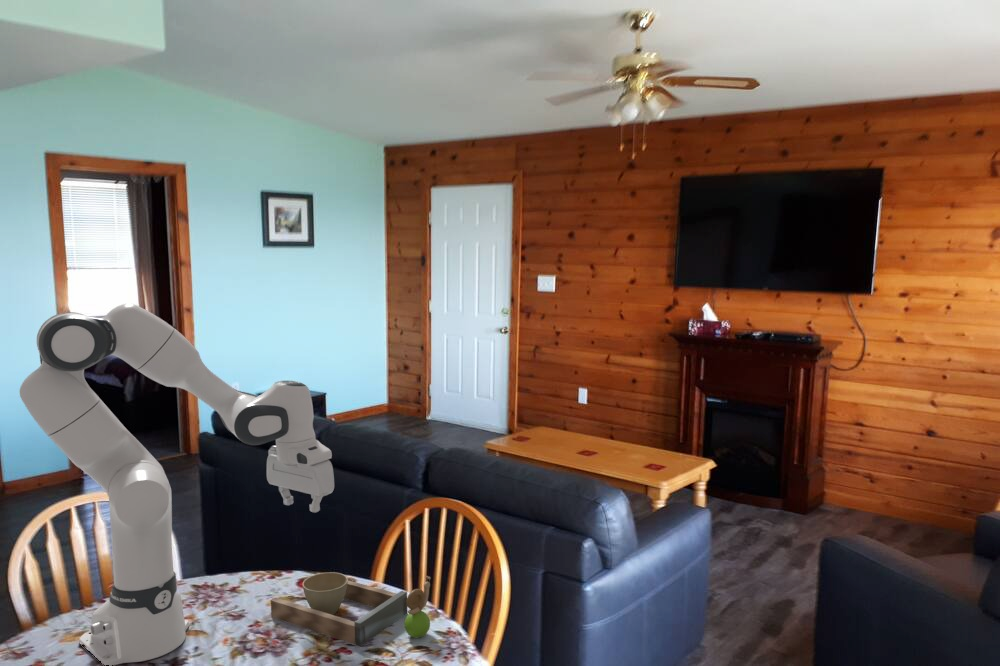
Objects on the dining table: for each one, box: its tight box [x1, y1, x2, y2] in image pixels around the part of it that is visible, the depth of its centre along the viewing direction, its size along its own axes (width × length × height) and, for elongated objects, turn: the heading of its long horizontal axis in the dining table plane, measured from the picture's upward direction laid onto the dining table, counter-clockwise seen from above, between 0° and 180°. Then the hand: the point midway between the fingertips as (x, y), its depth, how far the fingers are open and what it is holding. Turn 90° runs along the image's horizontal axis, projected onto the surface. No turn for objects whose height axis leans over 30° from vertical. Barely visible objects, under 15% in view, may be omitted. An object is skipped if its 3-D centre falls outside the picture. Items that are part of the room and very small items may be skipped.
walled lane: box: [270, 580, 408, 647], centre depth 159 cm, size 26×16×5 cm, turn 61°
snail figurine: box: [404, 575, 431, 639], centre depth 150 cm, size 5×6×12 cm
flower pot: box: [302, 571, 349, 615], centre depth 161 cm, size 10×10×7 cm
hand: (301, 507), depth 164 cm, fingers open, 8 cm apart
